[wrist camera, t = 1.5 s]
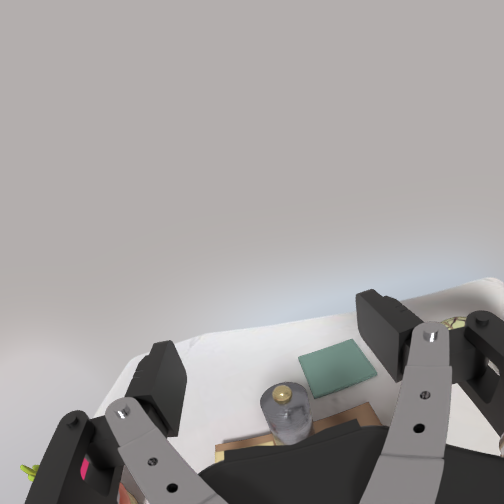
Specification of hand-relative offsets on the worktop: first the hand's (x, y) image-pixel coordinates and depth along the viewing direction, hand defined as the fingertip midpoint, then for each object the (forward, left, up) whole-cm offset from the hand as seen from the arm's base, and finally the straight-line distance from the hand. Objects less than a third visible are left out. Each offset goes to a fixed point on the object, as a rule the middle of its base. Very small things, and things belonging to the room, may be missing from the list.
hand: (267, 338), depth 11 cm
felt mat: (-10, -26, -28) cm, 40 cm away
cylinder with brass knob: (0, -10, -26) cm, 28 cm away
